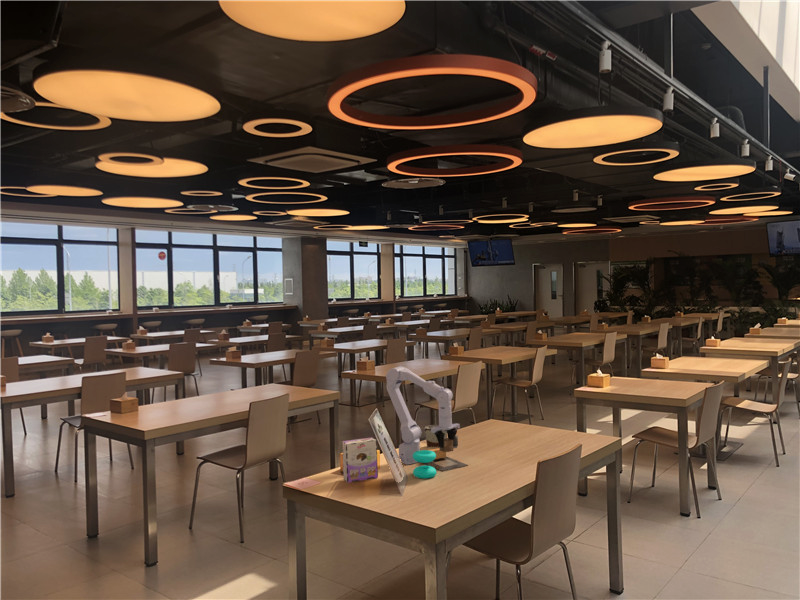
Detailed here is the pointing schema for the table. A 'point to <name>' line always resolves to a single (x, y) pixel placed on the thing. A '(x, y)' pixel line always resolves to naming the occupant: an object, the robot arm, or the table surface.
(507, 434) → the table surface
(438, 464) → the frame
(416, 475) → the donuts
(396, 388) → the robot arm
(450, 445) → the block
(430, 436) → the food container
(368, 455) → the candy box
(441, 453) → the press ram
